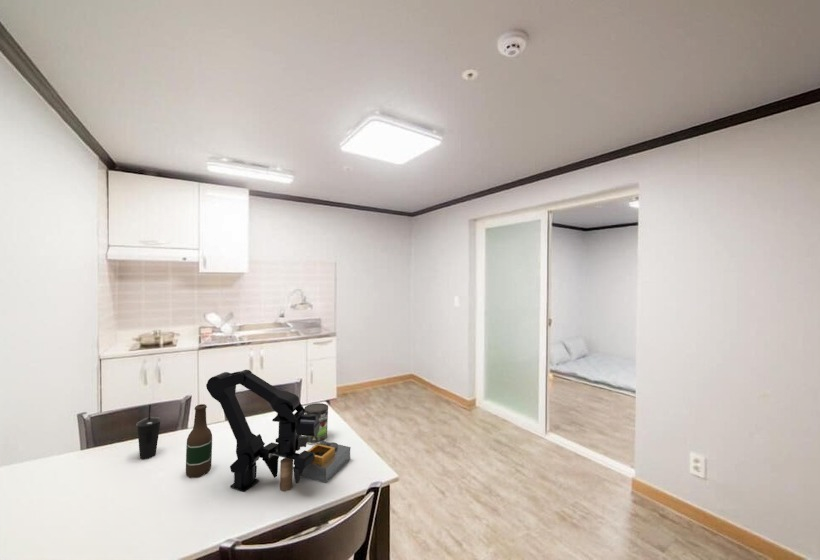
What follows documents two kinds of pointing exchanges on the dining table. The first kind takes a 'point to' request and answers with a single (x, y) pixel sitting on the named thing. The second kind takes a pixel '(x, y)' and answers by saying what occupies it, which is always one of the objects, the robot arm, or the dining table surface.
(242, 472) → the robot arm
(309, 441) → the coffee can
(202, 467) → the beer bottle
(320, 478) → the grey block with socket
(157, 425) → the drinking cup
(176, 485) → the dining table surface
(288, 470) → the wooden plug
